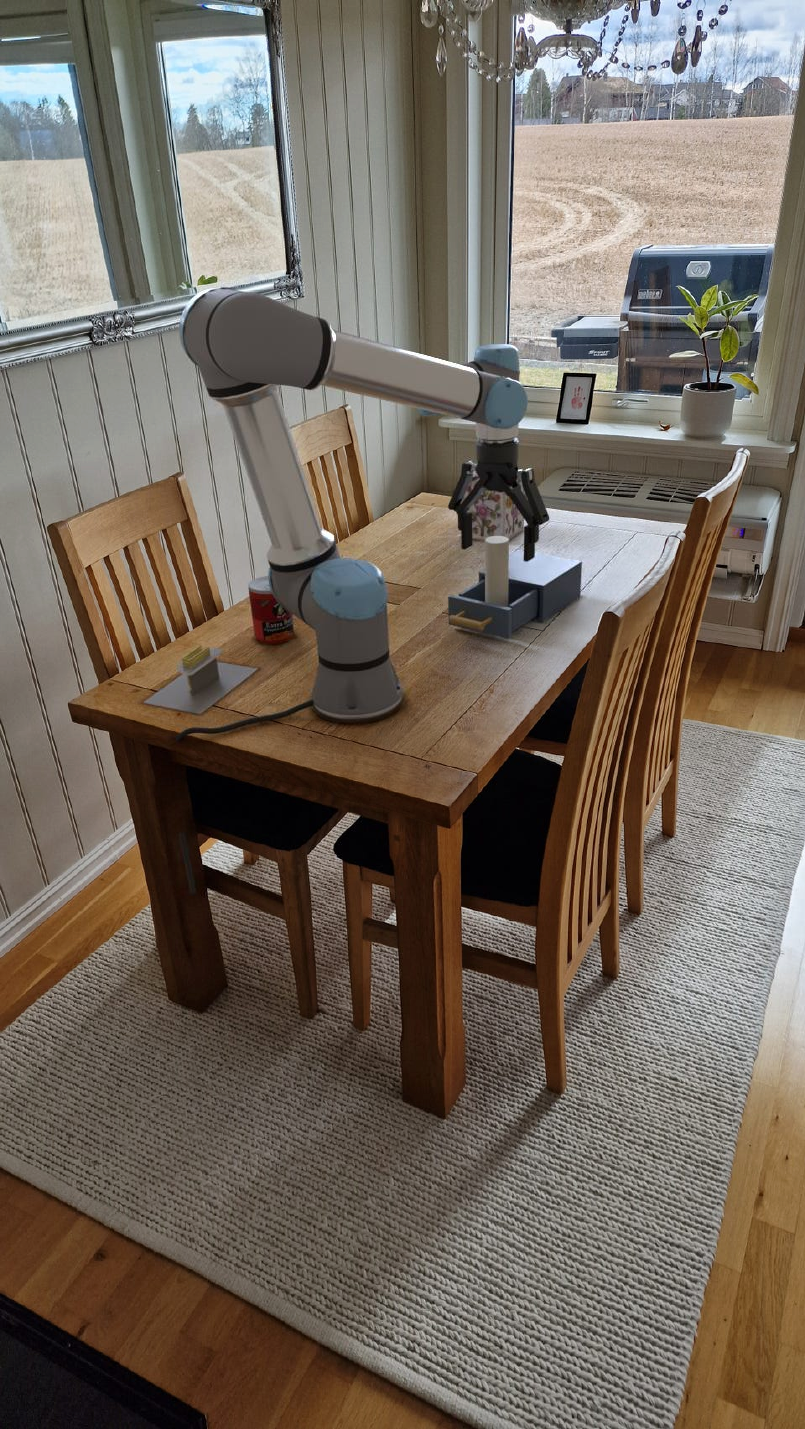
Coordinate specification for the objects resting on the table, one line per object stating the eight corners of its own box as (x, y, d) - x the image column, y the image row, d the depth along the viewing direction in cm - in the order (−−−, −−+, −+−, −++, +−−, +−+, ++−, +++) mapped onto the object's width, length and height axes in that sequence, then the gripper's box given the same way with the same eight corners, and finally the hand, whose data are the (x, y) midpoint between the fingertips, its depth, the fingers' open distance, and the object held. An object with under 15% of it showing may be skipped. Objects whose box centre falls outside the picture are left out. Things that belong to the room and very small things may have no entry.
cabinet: (542, 622, 187) (543, 585, 183) (479, 607, 195) (478, 572, 191) (580, 596, 198) (582, 561, 194) (518, 583, 206) (519, 549, 202)
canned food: (266, 648, 182) (259, 593, 177) (247, 634, 188) (240, 581, 183) (301, 637, 186) (296, 584, 180) (282, 625, 192) (276, 572, 186)
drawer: (495, 648, 176) (495, 618, 173) (435, 632, 183) (434, 604, 180) (547, 613, 189) (547, 585, 186) (488, 599, 196) (488, 572, 193)
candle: (497, 620, 184) (497, 545, 177) (480, 614, 187) (480, 540, 180) (512, 614, 186) (513, 539, 179) (496, 608, 189) (496, 534, 182)
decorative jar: (460, 538, 233) (459, 463, 225) (481, 524, 242) (481, 452, 233) (505, 544, 228) (506, 468, 219) (525, 530, 236) (527, 456, 228)
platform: (142, 702, 165) (135, 668, 162) (203, 659, 179) (198, 626, 176) (200, 714, 160) (194, 678, 157) (258, 668, 175) (253, 635, 171)
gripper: (570, 440, 166) (566, 558, 176) (450, 427, 180) (453, 537, 190) (549, 450, 161) (546, 571, 171) (427, 436, 175) (431, 548, 185)
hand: (497, 553), depth 181 cm, fingers open, 13 cm apart
